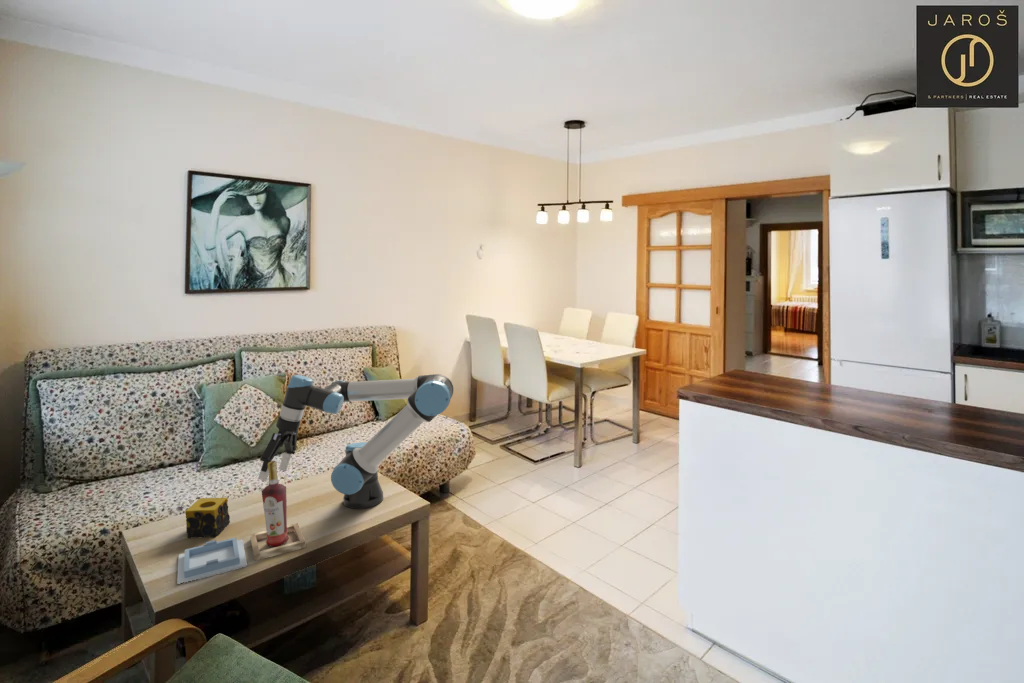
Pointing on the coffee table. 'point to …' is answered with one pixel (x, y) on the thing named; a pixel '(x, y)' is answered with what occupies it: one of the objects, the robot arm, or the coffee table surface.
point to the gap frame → (280, 549)
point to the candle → (207, 517)
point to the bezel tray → (211, 559)
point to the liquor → (275, 508)
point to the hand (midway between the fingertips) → (272, 474)
